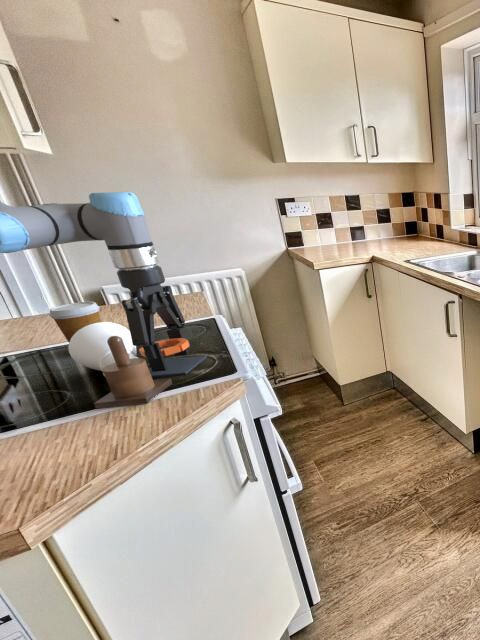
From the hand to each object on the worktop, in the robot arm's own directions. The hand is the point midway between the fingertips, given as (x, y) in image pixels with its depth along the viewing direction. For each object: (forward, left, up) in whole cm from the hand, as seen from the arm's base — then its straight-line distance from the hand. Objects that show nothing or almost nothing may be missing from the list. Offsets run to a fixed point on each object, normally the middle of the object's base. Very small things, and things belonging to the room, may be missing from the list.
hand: (171, 362), depth 99 cm
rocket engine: (-11, -3, -1) cm, 11 cm away
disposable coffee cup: (-30, +20, -2) cm, 36 cm away
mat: (0, 0, -1) cm, 1 cm away
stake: (0, -14, -1) cm, 14 cm away
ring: (0, 0, +3) cm, 3 cm away
